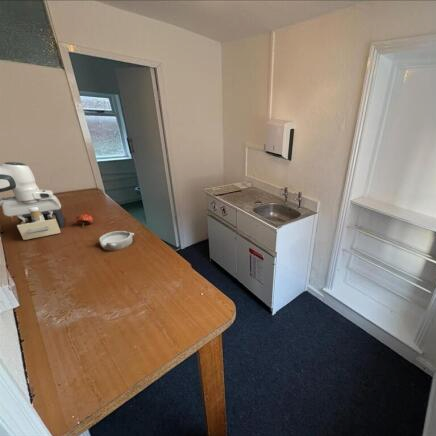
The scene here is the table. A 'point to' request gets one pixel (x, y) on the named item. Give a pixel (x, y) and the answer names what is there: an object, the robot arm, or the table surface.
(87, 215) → the red mushroom
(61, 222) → the cabinet
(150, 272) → the table surface
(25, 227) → the drawer
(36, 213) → the sprinkles bottle
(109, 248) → the dish
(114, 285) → the table surface
